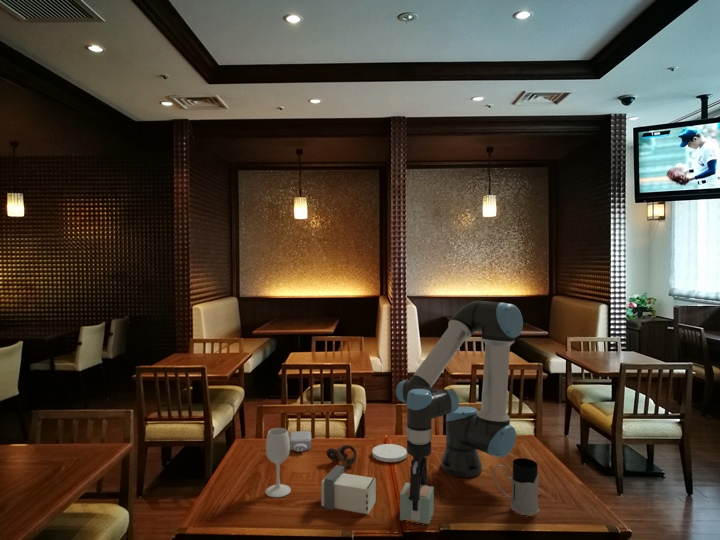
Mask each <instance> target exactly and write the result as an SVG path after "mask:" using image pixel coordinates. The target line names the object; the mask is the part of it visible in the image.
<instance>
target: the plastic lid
mask: <svg viewBox="0 0 720 540" xmlns="http://www.w3.org/2000/svg"><path fill="white" fill-rule="evenodd" d="M371 452H372V457H373V458H374V459H376V460H378V461H381V462H386V463H397V462H401V461H403V460H405V459H406V458H407V456H408V452H407V448H405V447H403V446H402V445H398V444H394V443H385V444H383V443H382V444H378V445H376V446H374V447H373V448H372V450H371Z"/></svg>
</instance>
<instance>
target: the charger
mask: <svg viewBox="0 0 720 540" xmlns="http://www.w3.org/2000/svg"><path fill="white" fill-rule="evenodd" d="M289 441H290V451H292V450H294V451H295V452H304V451H309V450H311V449H312V432H311V431H309V430H307V431H306V430H305V431H301V430H299V431H291V432H290V433H289Z"/></svg>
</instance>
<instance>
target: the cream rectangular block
mask: <svg viewBox="0 0 720 540" xmlns="http://www.w3.org/2000/svg"><path fill="white" fill-rule="evenodd" d="M376 483H377V481H376V478H375V477H369V476H363V475H357V474H351V473H350V474H349V473H345V469H344V466H341V465H337V464H336V465H335V466H334V467H333V468H331V470H330V471H329V473H327V475H326V476H325V477H324V478H323V479H322V481H321V486H320V487H321V490H320V491H321V492H320V495H321V498H320V500H321V503H320V506H321V507H323V508H324V509H326V510H332V511H333V510H334V509H338V510H344V511H347V512H348V511H349V512H353V513H359V514H365V515H369V514H370V512H371V510H372V509H373V507H374V505H375V503H376V502H377V501H376V497H377V495H376V489H377V487H376Z"/></svg>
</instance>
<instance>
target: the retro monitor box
mask: <svg viewBox="0 0 720 540" xmlns="http://www.w3.org/2000/svg"><path fill="white" fill-rule="evenodd" d="M434 489H435V488H434V486H429V485H426V486H424V485H420V521H416V520H412V521H416V522H421V523H426V524H429V523H430V524H431V521H430V520H432V518H431V517H433V515H434V511H435V509H434V505H435V503H434V502H435V500H434V499H435V498H434V494H435V493H434V491H435V490H434ZM408 497H410V482H405V484H404V486H403V487H402V490H401V492H400V493H399V521H403V520H405V519H408V520H411V500H409V499H408ZM430 524H429V525H430Z"/></svg>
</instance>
